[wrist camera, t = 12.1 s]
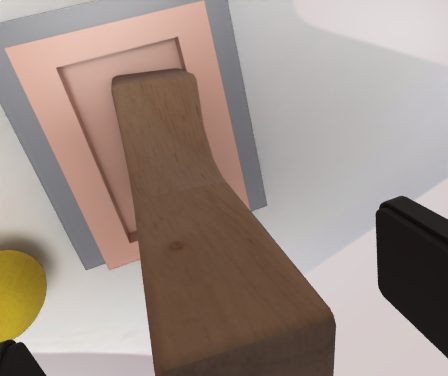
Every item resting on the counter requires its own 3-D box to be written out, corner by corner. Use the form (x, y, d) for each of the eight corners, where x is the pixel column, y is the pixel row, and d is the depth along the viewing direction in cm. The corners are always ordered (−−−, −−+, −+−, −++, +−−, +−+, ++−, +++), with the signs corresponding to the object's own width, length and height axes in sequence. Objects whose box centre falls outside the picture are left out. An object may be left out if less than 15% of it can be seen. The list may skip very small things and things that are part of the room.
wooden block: (110, 75, 21) (101, 175, 5) (181, 66, 22) (356, 128, 6) (138, 205, 25) (184, 493, 9) (199, 192, 26) (336, 432, 10)
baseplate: (216, -25, 24) (239, -40, 20) (260, 198, 32) (284, 223, 27) (-28, 31, 21) (-65, 29, 17) (87, 260, 29) (82, 298, 25)
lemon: (-20, 225, 26) (-71, 294, 19) (60, 237, 28) (42, 304, 21) (-30, 286, 27) (-81, 372, 20) (46, 294, 29) (25, 373, 22)
